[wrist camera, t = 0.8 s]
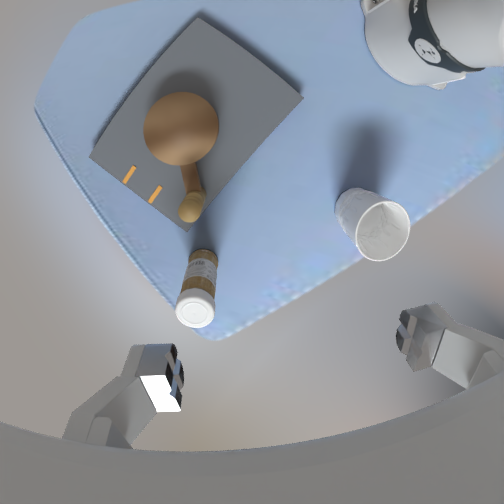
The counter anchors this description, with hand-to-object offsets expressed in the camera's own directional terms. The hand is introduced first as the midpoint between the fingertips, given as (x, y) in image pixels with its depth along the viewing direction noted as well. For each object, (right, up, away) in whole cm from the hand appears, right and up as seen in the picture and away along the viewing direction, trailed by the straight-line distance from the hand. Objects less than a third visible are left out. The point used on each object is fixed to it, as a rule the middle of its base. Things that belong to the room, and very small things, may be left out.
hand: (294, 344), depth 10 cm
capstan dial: (-10, +16, +26) cm, 32 cm away
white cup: (+14, +10, +33) cm, 37 cm away
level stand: (-10, +20, +27) cm, 35 cm away
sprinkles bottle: (-9, +2, +35) cm, 37 cm away
